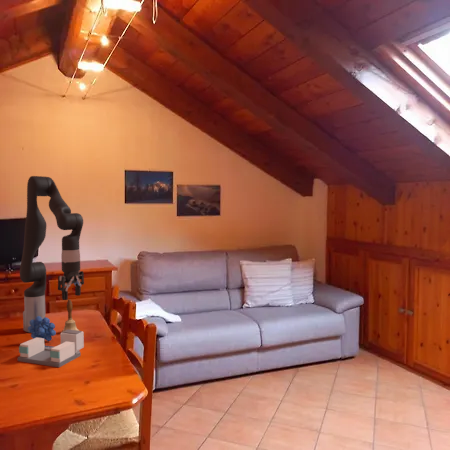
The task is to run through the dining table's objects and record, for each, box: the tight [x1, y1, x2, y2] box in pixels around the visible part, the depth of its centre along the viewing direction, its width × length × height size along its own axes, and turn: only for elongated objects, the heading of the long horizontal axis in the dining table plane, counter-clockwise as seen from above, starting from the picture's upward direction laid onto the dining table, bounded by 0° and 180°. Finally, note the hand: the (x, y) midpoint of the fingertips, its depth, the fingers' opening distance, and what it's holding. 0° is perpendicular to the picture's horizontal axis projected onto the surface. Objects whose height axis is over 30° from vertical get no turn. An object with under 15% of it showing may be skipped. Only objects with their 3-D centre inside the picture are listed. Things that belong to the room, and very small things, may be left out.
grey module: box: [60, 329, 85, 351], centre depth 190 cm, size 8×5×7 cm, turn 72°
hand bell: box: [60, 299, 80, 334], centre depth 211 cm, size 8×8×16 cm
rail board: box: [17, 337, 81, 368], centre depth 178 cm, size 20×13×6 cm, turn 72°
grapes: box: [28, 316, 57, 342], centre depth 196 cm, size 12×7×12 cm, turn 106°
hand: (71, 297), depth 189 cm, fingers open, 8 cm apart
